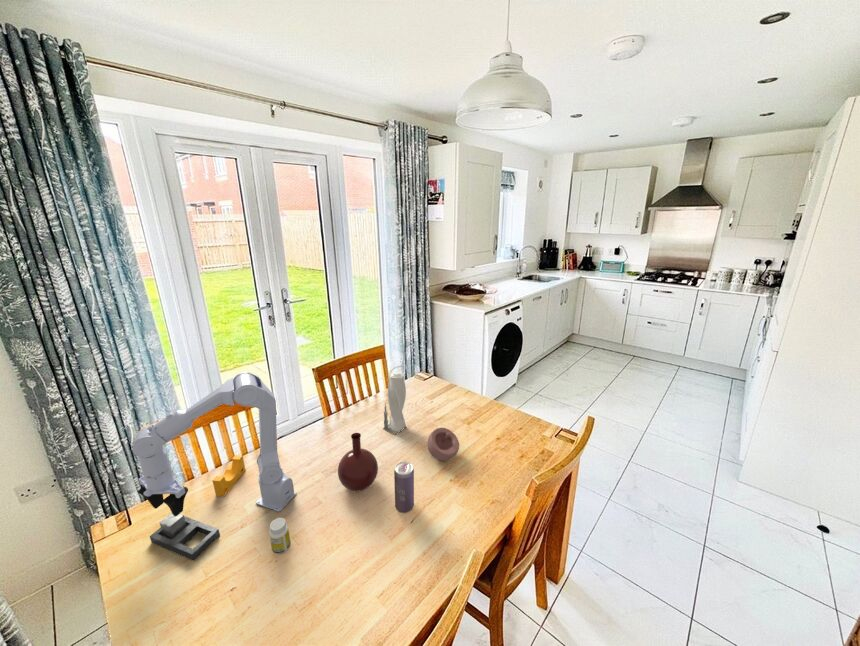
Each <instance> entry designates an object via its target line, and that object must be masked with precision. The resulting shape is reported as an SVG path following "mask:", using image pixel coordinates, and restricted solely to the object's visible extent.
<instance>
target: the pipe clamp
mask: <svg viewBox="0 0 860 646" xmlns="http://www.w3.org/2000/svg"><path fill="white" fill-rule="evenodd" d="M231 461H232V462H231V463H230V464H229V466H228V467H227V468H226V469H225V471H224V473H223V475H221V476H220V475H216V476H215V477H214V478H213V479H212V480H211V481H212V485H213V489H214V492H215V493H214V495H215V497H225V495H227V493H228V491H230V490H231V488H232V487H233V486H234V484H236V482H237V481H238V479H240V477H242V475H243V474H244V473H245V471H246V466H245V465H246V464H245V460H244V456H243V455H238V454H235V455H234V456H233V457H232V460H231Z"/></svg>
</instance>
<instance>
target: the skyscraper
mask: <svg viewBox="0 0 860 646" xmlns="http://www.w3.org/2000/svg"><path fill="white" fill-rule="evenodd" d="M397 368H402V369H401V371H399V370H398V371H397V370H395V369H397ZM404 369H405V366H401V365H399V366H395V367H393V368H391V370H390V371H389V375H388V382H387V383H388V384H387V400H388V406H389V410H390V411H389V412H390V418H389V419H388V413H389V412H388V411H387V406H386V405H387V403H386V402H384V411H383V416H384V417H383V425H384V426H383V428H382V430H384V429H385V431H386V430H387V431H386V432H388V431H389V432H388V433H390V432H391V433H390V434H392V433H393V435H394V434H395V435H394V436H396V435H398V434H399V433H400V432H402V431H403V430H404V429H405V427H406V428H407V424H406V421H405V418H404V413H403V409H404V406H405V404H406V403H405V402H406V399H407V397H406V396H407V390H406V389H407V388H406V382H405V377H404V373H403V371H404ZM394 370H395V371H394ZM403 428H404V429H403ZM402 429H403V430H402ZM401 430H402V431H401ZM399 431H400V432H399ZM398 432H399V433H398ZM397 433H398V434H397Z"/></svg>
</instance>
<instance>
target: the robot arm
mask: <svg viewBox="0 0 860 646" xmlns="http://www.w3.org/2000/svg"><path fill="white" fill-rule="evenodd" d="M276 401H277V400H276V397H275V394H274V393H273V392H272V391H271V390H270V389H269V387H268V386H267V385H266V384H265V383H264V382H263V380H262V379H261V378H260V376H258V375H257V374H254V373H251V372H249V371H248V372H247V371H243V372H240V373H238V374H236V375H235V376H234V377H231V378H229V379H227V380H226V381H225V382H224V383H222V384H221V385H220V386H219V387H218V388H216V389H215V390H213V391H211V392H210V393H209V394H207V395H206V396H205V397H203V398H202V399H200V400H199V401H197V402H196V403H194V404H193V405H191V406H190V407H189V408H187V409H177V410H176V411H174V412H173V411H169V412H168V413H166V415H165V417H164V418H162V419H161V420H160V421H158V422H155V423H154V424H153V423H152V424H150V425H149V426H147V427H144V428H142V429H140V430H139V431H138V432H137V434H136V435H135V438H134V441H133V445H132V453H133V455H135V456H136V457H138V462H139V465H140V469H141V471H142V474H143V476H141V477H140V478H138V482H139V485H141V486H142V487H141V488H140V489H138V491H137V493H138V494H139V495H141V496H143V497H144V498H145V499H146V500H147V501H148V502H149V504H150V505H151V506H152V508H154V509H155V510H156V509H158V508H159V507H161V506H162V505H163V504H165V505H166V506H167V507H168V508H169V510H170V512H171V513H172V514H173V515H174V516H177V515H179V514H182V512H183V511H184V505H185V504H184V503H185V498H186V496H187V493H188V492H189V489H188V487H186V486H184V485H183V486H182V485H181V484H180V482H179V481H178V480H177V479H176V477H175V476H174V473H173V470H172V467H171V463H170V460H169V456H168V452H167V450H166V447H165V444H168V442H170V441H173V439H175V438H176V437H178V436H179V435H181V434H182V433H184V432H186V431H187V430H189V429H191V428H192V426H193V424H194V421H195V420H197V419H199V418H200V417H202V416H204V415H206V414H207V413H209V412H210V411H213V410H215V409H216V408H218V407H220V406H222V405H227V406H233V407H234V406H235V405H236V404H238V405H240V406H241V407H252V408H257V409H258V421H259V422H258V425H259V426H258V427H259V445H260V446H259V447H260V448H259V453H258V456H257V459H256V464H257V466H258V473H259V474H258V477H257V479H258V484H259V485H258V486H259V490H260V496H261V497H259V499H257V500H256V501H255V504H256V505H258V506H261V507H264V508H267V509H271V510H273V511H276V512H281V511H282V510H283V509H284V508H285V507H286V506H287V505H288V503H289V502H290V501H291V500H292V499H293V497H295V495H296V494H297V492H296V491H295V487H294V483H293V479H292V478H291V477H289V476H287V475H286V474H285V472H284V470H283V468H282V467H281V462H280V458H279V454H278V434H277V430H278V429H277V402H276ZM235 403H236V404H235ZM164 495H168V496H166V497H165V498H164Z"/></svg>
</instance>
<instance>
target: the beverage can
mask: <svg viewBox="0 0 860 646" xmlns="http://www.w3.org/2000/svg"><path fill="white" fill-rule="evenodd" d="M393 473H394V477H393V478H394V508H395V509H396V511H398V512H399V513H401V514H408V513H410V512H411V511H412V510H413V508H414V506H415V469H414V466H413V464H412V463H411V462H409V461H400V462H397V463H396V465H395V466H394V470H393Z"/></svg>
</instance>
